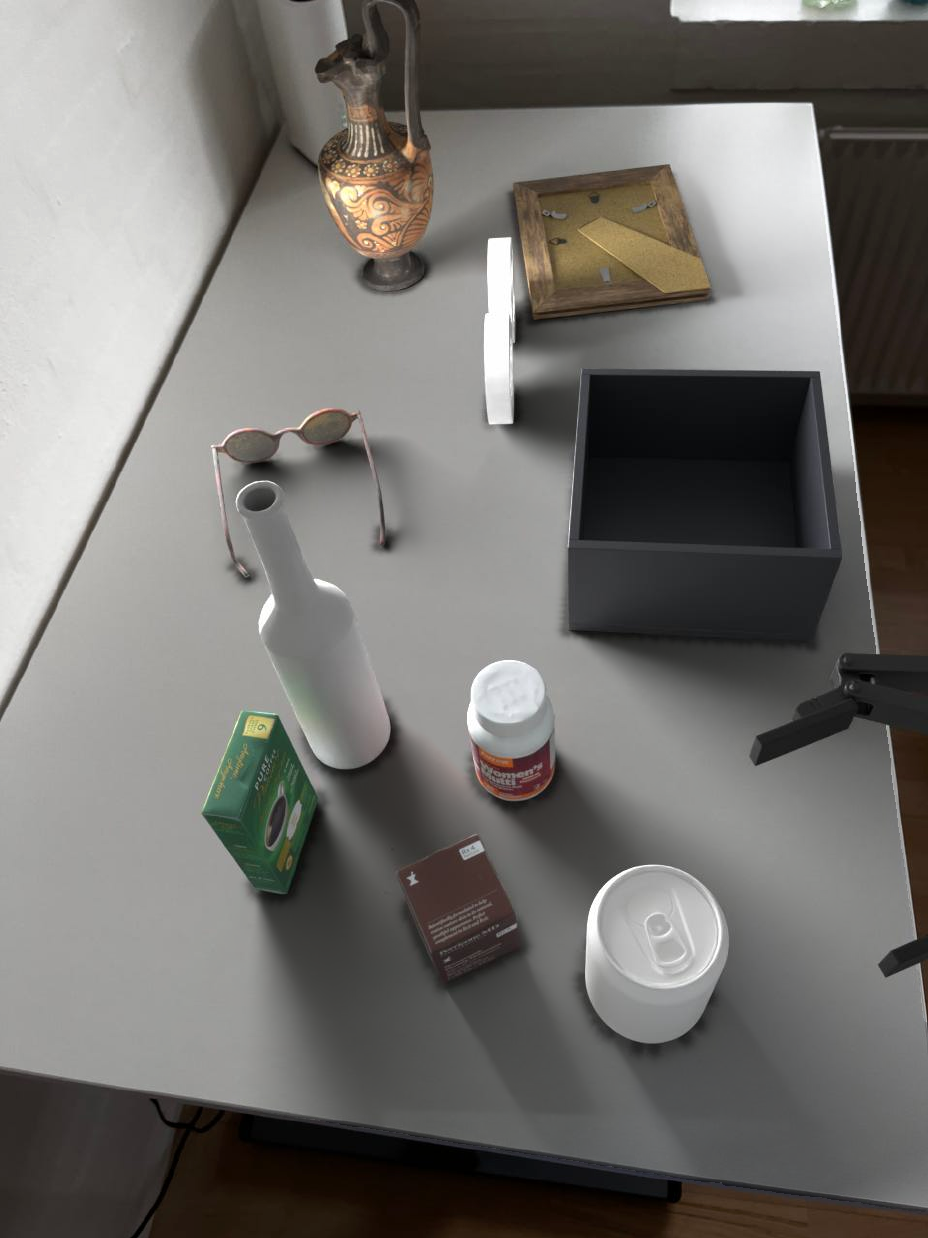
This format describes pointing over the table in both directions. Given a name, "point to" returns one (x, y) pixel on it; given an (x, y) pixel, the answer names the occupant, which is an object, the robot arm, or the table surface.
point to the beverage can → (654, 952)
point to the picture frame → (607, 242)
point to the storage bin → (702, 504)
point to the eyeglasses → (263, 445)
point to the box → (460, 908)
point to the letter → (500, 332)
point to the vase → (378, 154)
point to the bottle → (314, 642)
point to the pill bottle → (512, 730)
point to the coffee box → (261, 801)
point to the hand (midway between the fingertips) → (816, 851)
